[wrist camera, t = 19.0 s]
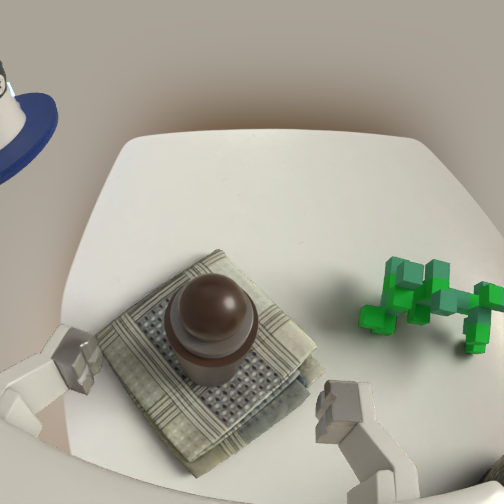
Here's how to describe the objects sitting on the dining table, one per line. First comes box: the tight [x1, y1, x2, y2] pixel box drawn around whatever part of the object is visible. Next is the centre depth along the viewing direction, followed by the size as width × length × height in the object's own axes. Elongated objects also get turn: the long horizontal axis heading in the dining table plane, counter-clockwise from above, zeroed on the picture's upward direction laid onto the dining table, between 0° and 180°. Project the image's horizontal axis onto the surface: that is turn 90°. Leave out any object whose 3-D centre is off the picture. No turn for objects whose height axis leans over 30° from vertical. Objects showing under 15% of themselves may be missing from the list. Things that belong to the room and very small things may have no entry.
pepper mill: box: [164, 273, 259, 387], centre depth 22 cm, size 6×6×16 cm
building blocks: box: [358, 256, 504, 354], centre depth 33 cm, size 20×12×13 cm, turn 92°
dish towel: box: [97, 249, 325, 478], centre depth 30 cm, size 19×18×3 cm
